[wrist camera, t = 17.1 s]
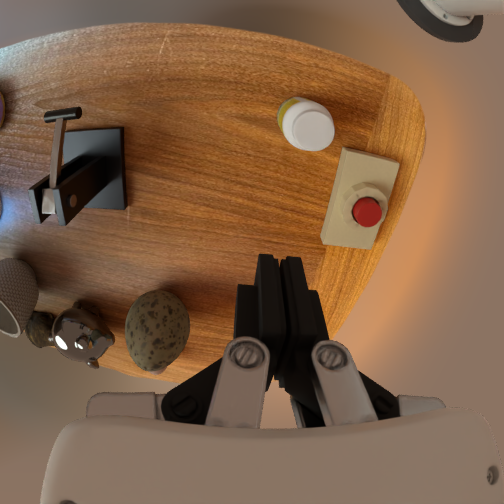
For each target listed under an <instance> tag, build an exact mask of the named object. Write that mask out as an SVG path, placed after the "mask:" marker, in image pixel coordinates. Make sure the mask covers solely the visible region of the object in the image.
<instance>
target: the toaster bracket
mask: <svg viewBox="0 0 504 504" xmlns="http://www.w3.org/2000/svg"><path fill="white" fill-rule="evenodd" d="M63 155H64V165H63V166H61V180H60V184H59V185H57V186H56V187H55V188H53V189H52V190H53V196H54V201H55V207H56V212H57V216H58V221H59V225H62V226H66V225H67V224H68V223H69V222H70V221H71V220H72V219H73V218H74V217H75V216H76V215H77V214H78V213H79V212H80V211H81V210H82V209H83V208H103V209H120V210H125V209H126V208H127V206H128V205H127V193H126V179H125V159H124V127H111V128H93V129H80V130H69V131H65V137H64V145H63ZM49 182H50V174H49V175H48V176H46V177H45V178H43V179H42V180H40V181H39V182H38V183H36V184H35V185H33V186H32V187H31V188H29V189H28V193H29V198H30V202H31V207H32V211H33V215H34V220H35V223H37V224H41V223H42V222H43V221H44V220H45V219H46V218H48V217H49V216H50V215H51V214H45V213H42V189H46V188H49Z"/></svg>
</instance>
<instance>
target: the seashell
mask: <svg viewBox="0 0 504 504" xmlns="http://www.w3.org/2000/svg"><path fill="white" fill-rule="evenodd" d="M54 321H55V319H54V318H53V317H52V315H51V314H49V313H39V312H34V311H33V313H32V315H31V317H30V319H29V321H28V323H27V325H26V327H25V332H26V335H27V337H28V338H29V340H30V341H31V342H32V343H33V344H34V345H35V346H37V347H39V348H42V347H45V346H55V345H54V343H52V342H49V340H48V336H49V333H50V332H51V330H52V326H53V323H54Z"/></svg>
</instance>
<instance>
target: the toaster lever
mask: <svg viewBox="0 0 504 504" xmlns="http://www.w3.org/2000/svg"><path fill="white" fill-rule="evenodd" d="M81 115H82V109H81V107H73V108H66V109H59V110H53V111H47V112H46V113H45V115H44V121H45V122H46V123H50V122H56V124H55V130H54V138H53V146H52V155H51V166H50V182H49V188H46V189H42V213H45V214H57V212H56V207H55V201H54V196H53V190H52V189H53V188H55V187H56V186H57V185H59V184H60V180H61V166H62V155H63V145H64V137H65V130H66V123H67V120H73V119H79V118H80V117H81Z"/></svg>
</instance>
